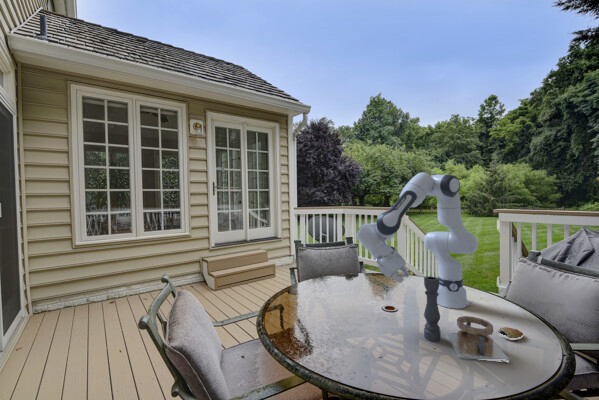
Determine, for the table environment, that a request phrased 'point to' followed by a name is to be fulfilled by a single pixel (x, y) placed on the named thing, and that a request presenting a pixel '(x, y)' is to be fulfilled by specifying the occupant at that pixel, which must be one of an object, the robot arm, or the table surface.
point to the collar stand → (474, 340)
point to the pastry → (510, 332)
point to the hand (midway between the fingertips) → (405, 278)
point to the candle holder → (432, 310)
